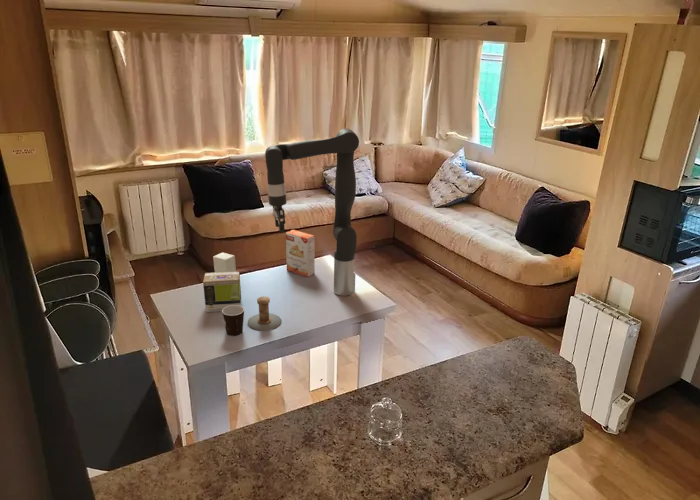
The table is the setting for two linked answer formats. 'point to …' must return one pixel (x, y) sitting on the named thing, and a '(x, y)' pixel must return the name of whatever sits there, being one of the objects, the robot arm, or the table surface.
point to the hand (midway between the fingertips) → (280, 229)
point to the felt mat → (264, 327)
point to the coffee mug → (233, 319)
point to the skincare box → (224, 262)
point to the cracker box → (300, 253)
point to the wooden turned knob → (263, 310)
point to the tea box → (221, 290)
